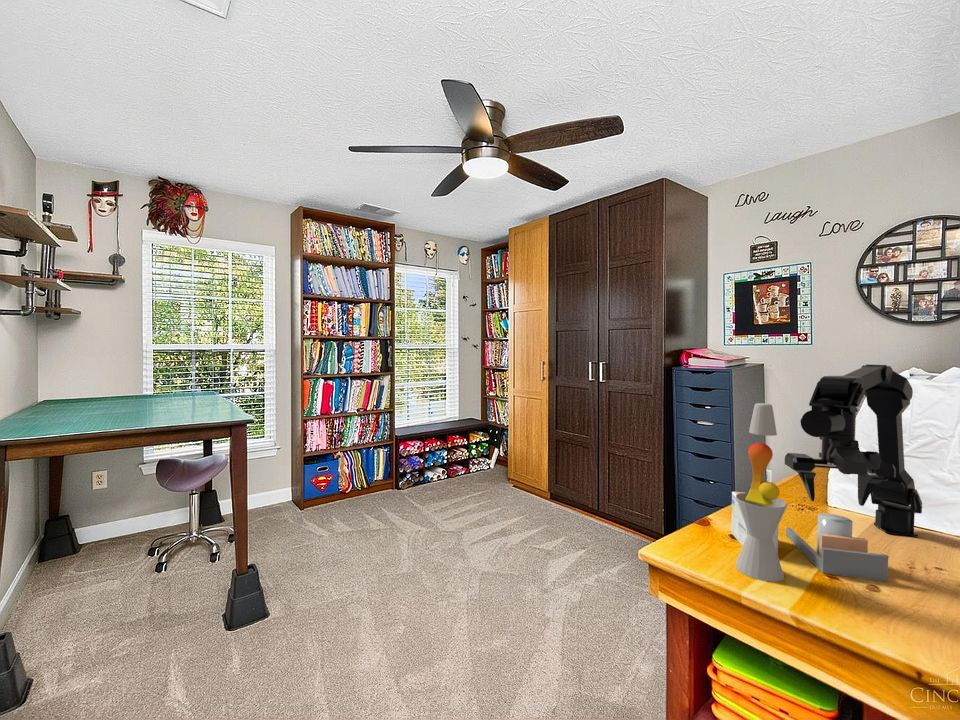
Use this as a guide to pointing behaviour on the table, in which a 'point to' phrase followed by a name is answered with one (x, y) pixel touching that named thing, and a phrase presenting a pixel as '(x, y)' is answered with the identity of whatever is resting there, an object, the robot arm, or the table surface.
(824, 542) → the plate
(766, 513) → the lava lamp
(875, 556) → the pusher lane
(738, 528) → the light bulb box
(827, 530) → the jar
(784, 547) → the table surface
